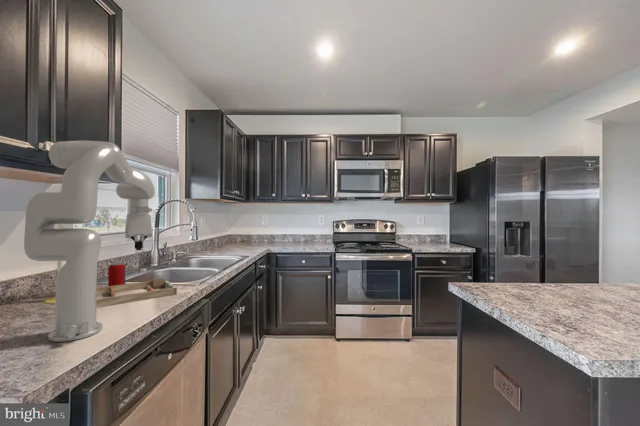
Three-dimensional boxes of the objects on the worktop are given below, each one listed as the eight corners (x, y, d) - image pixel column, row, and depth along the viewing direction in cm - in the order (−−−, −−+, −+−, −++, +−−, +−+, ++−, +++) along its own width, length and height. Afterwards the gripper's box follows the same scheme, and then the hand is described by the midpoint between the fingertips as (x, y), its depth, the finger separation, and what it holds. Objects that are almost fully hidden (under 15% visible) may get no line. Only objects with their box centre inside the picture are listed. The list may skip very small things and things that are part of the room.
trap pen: (176, 294, 130) (176, 287, 130) (91, 308, 111) (91, 300, 111) (164, 285, 147) (164, 279, 147) (88, 295, 127) (88, 288, 127)
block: (165, 288, 142) (165, 279, 142) (153, 289, 138) (153, 281, 138) (162, 286, 145) (162, 278, 145) (151, 287, 142) (151, 279, 142)
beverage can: (128, 287, 143) (128, 262, 143) (117, 290, 136) (118, 264, 136) (116, 286, 143) (116, 262, 144) (104, 290, 137) (104, 264, 137)
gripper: (155, 211, 144) (154, 248, 143) (118, 210, 134) (118, 250, 134) (158, 210, 138) (158, 249, 138) (120, 210, 128) (120, 252, 128)
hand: (138, 250), depth 136 cm, fingers closed
